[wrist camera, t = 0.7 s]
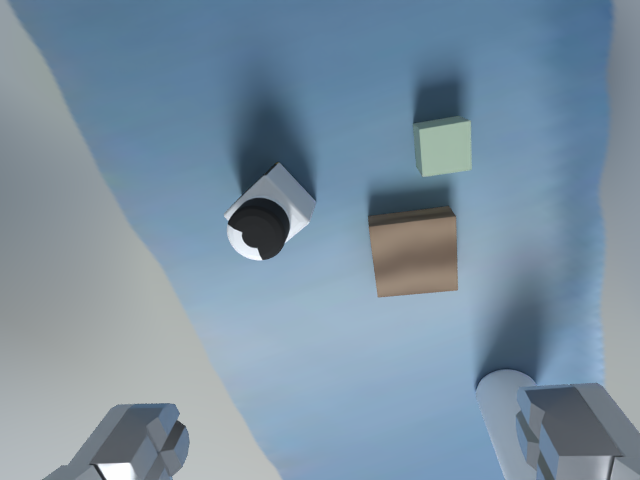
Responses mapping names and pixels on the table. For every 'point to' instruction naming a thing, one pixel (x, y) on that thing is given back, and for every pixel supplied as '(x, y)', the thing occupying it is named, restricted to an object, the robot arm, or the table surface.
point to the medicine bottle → (268, 214)
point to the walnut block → (414, 251)
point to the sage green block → (443, 146)
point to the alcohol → (505, 419)
